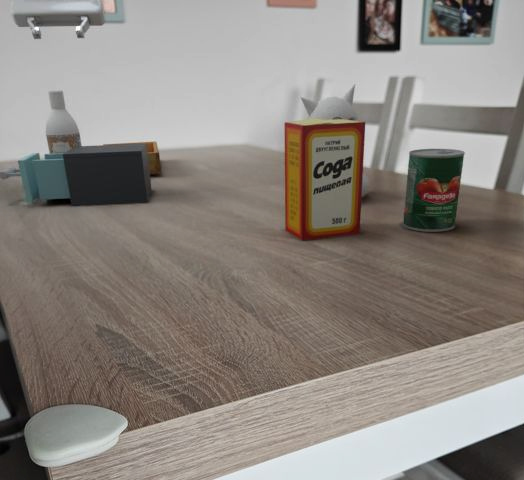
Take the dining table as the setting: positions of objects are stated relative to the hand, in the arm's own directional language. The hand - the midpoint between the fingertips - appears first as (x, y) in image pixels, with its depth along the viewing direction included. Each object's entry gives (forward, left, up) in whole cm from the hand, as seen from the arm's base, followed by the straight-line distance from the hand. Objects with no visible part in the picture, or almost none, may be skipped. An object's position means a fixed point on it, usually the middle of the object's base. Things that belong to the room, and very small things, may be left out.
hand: (58, 36), depth 122 cm
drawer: (0, -26, -30) cm, 40 cm away
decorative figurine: (+54, -37, -31) cm, 73 cm away
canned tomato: (+64, -62, -31) cm, 95 cm away
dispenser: (+11, -26, -31) cm, 42 cm away
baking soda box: (+47, -62, -31) cm, 84 cm away
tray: (+11, +13, -31) cm, 35 cm away
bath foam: (0, -12, -31) cm, 33 cm away
